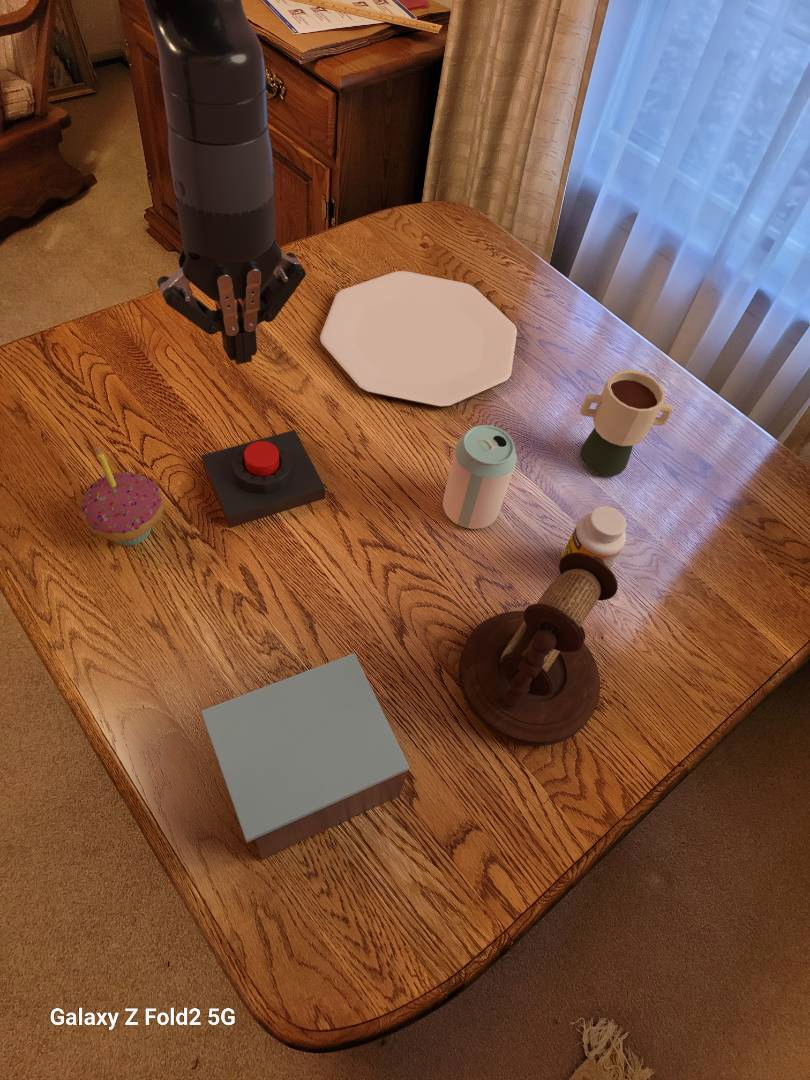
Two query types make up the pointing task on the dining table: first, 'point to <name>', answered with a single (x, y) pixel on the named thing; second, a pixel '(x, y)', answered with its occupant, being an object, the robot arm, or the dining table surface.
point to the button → (261, 458)
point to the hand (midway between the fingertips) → (240, 357)
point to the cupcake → (122, 506)
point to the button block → (263, 481)
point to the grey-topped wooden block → (302, 745)
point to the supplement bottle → (599, 535)
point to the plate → (419, 338)
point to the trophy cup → (621, 419)
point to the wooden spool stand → (539, 659)
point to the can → (479, 476)
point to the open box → (329, 816)
